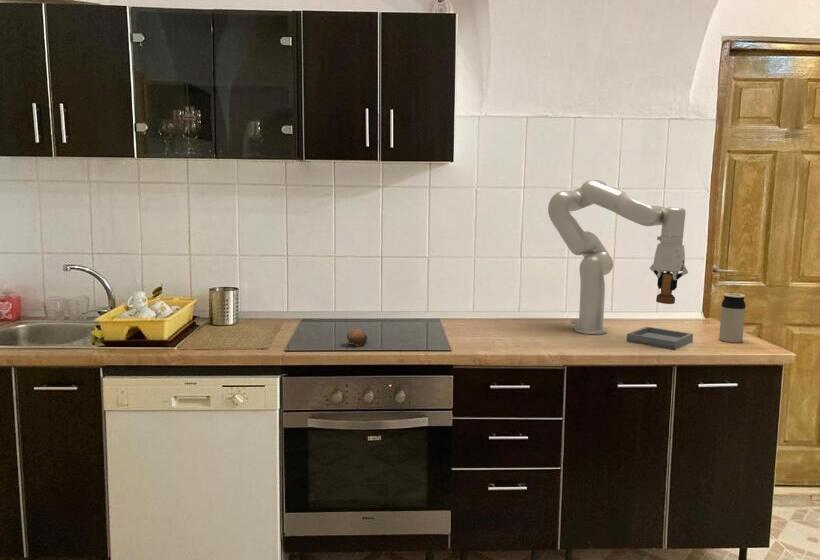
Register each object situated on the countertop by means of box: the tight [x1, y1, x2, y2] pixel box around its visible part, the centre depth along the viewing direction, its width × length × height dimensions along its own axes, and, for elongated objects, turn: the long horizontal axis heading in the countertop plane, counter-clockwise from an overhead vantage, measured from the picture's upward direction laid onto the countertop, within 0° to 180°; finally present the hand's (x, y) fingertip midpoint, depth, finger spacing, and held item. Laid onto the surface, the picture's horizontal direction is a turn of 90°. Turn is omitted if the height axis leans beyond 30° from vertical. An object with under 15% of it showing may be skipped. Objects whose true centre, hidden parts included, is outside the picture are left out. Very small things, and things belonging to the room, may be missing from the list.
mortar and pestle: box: [655, 271, 676, 305], centre depth 229 cm, size 7×6×18 cm
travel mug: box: [718, 292, 747, 344], centre depth 234 cm, size 8×8×18 cm
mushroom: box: [346, 328, 368, 347], centre depth 225 cm, size 8×8×6 cm
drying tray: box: [626, 326, 694, 351], centre depth 233 cm, size 18×18×3 cm
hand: (666, 288), depth 230 cm, fingers closed on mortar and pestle, 4 cm apart
